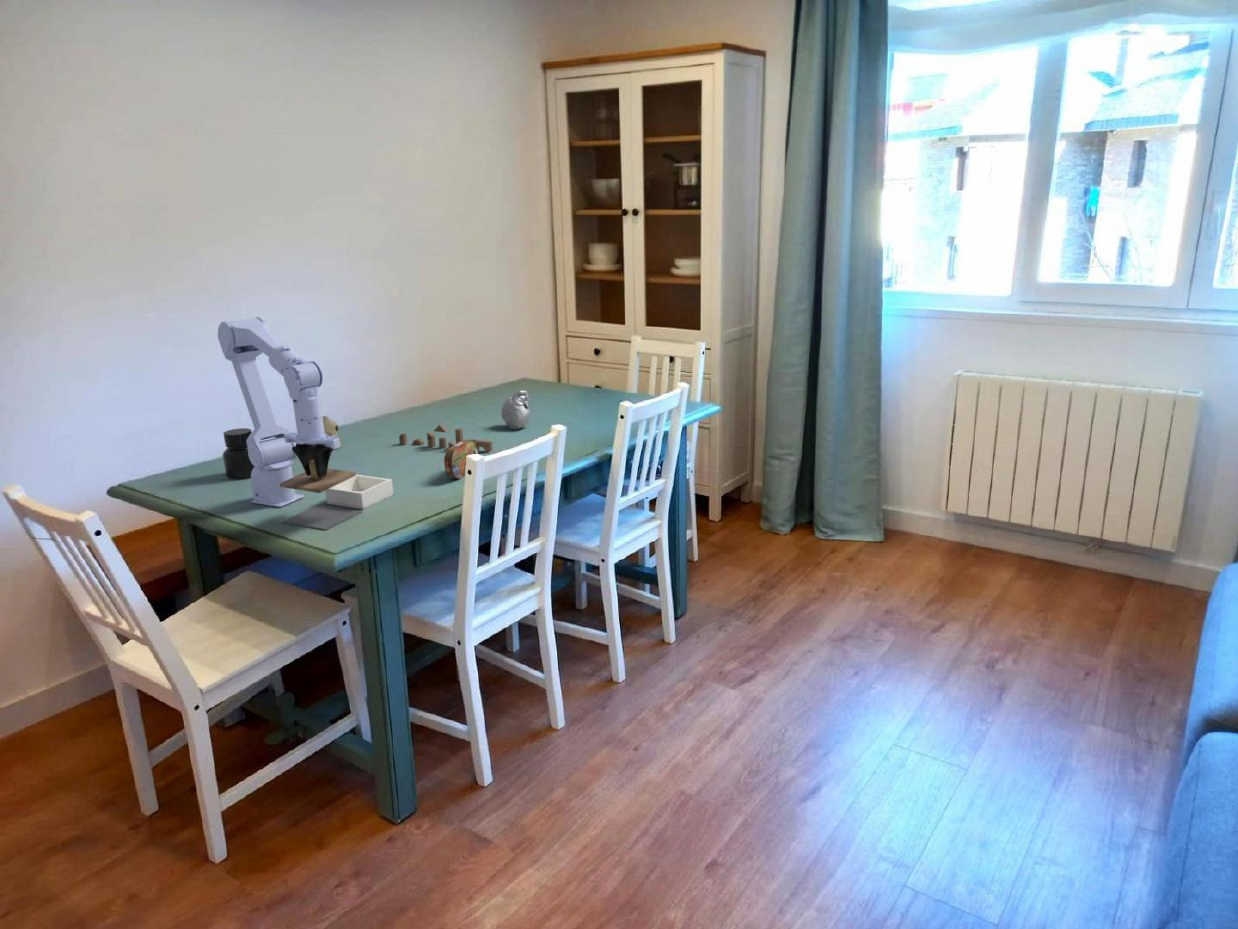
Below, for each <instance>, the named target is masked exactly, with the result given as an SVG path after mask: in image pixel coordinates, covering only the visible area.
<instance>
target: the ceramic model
mask: <svg viewBox="0 0 1238 929" xmlns="http://www.w3.org/2000/svg"><path fill="white" fill-rule="evenodd" d="M322 417H323V425H324V433H325V434H326V435H329V436H332V437H335V438H340V447H338V448H335V449H333V450H337V449H340V448H341V447H342V444H343V438H342V437H340V436H338V431H339V430H340V427H339V425H338V423H337V422H335V421H334V420H332V419H331V418H330V416H329V415H328V416H327V415H322Z"/></svg>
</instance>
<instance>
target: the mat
mask: <svg viewBox="0 0 1238 929" xmlns="http://www.w3.org/2000/svg"><path fill="white" fill-rule="evenodd" d="M362 513H363V510H359V509H357V510H356V509H353V508H347V507H341V506H339V507H338V506H335V505H329V504H328V505H327V504H320V503H319V504H316V505H314V506H311V507H310V508H307V509H305V510H303V511H301V512H299V513H297V514H295V515H293V516H290V517H288V518H285V519H283V520H281V523H283V524H288V525H292V526H299V527H306V528H311V529H317V530H322V531H327V530H330V529H332V528H334V527H335V526H337V525H340V524H342V523H344V522H345V521H347V520H349V519H352V518H354V517H355V516H358V515H360V514H362Z"/></svg>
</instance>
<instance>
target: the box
mask: <svg viewBox="0 0 1238 929" xmlns="http://www.w3.org/2000/svg"><path fill="white" fill-rule="evenodd" d="M355 474H356V473H355ZM324 492H325V497H326V503H327V504H328V505H331V506H337V507H338V506H339V507H343V508H349V509H355V510H356V509H357V510H361V511H363V510H366V509H368V508H370V507H372V506H374V505H376V504H378V503H380V502H382V501H385V500H386V499H388V498H390V497H392V496H393V495H394V488H393V479H391V478H384V477H377V476H369V475H363V474H358V473H357V474H356V476H354V477H352V478H350V479H348V480H346V481H344V482H342V483H340V484H337V485H335V486H333V487H331V488H329V489H327V490H325V491H324ZM327 504H326V505H327Z"/></svg>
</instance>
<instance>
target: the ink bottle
mask: <svg viewBox="0 0 1238 929" xmlns="http://www.w3.org/2000/svg"><path fill="white" fill-rule="evenodd" d="M252 432H253V431H252V429H251V428H242V427H241V428H234V429H229V430H226V431H224V432H223V434H222V435H223V438H224V444H225V447H226V449H225V450H224V451H223V452H222V458H223V464H224V465H223V466H224V470H225V477H226V478H228V479H230V480H244V479H245V480H246V479H251V472H252V470H253V468H254V467H255V466H254V465H253V464H252V463H251V461H250V459H249V455H248V446H247V442H246V440H247V439H248V437H249V436H250V434H251V433H252Z"/></svg>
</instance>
